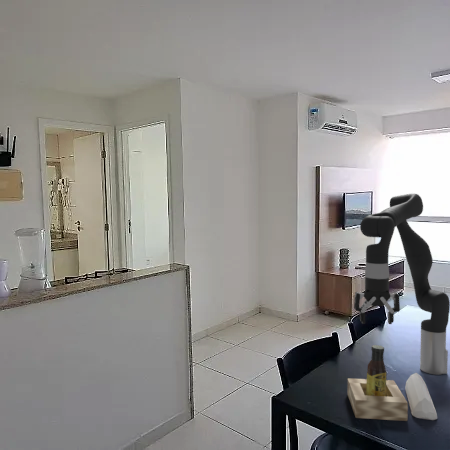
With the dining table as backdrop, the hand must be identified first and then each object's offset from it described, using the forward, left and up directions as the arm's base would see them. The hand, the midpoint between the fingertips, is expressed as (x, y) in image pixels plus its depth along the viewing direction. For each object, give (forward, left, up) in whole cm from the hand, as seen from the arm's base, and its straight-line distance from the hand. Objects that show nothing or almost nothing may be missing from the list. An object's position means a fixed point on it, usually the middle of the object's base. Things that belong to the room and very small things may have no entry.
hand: (376, 323), depth 136 cm
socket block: (0, 0, -29) cm, 29 cm away
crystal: (-16, -4, -30) cm, 34 cm away
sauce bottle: (0, 0, -28) cm, 28 cm away
